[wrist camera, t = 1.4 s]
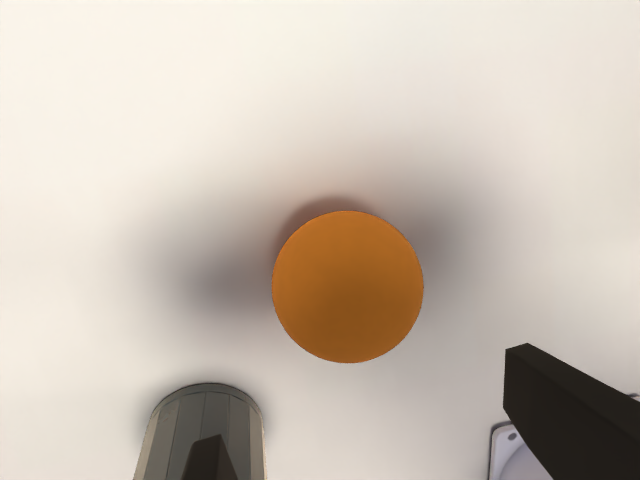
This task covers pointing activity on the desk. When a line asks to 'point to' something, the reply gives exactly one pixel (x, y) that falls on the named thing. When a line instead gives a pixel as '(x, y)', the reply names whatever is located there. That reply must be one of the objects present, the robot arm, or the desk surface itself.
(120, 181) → the desk surface
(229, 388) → the cup
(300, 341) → the ball
